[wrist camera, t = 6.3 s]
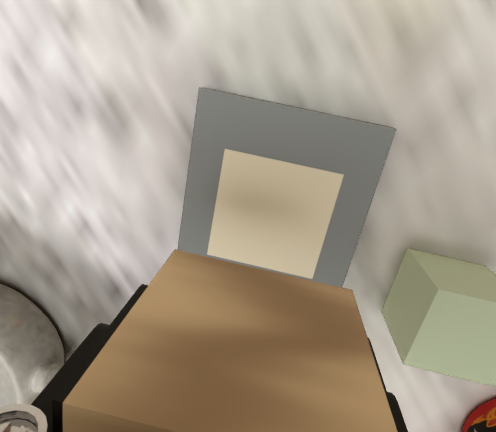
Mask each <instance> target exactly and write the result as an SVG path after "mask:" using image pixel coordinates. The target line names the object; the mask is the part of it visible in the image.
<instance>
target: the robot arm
mask: <svg viewBox="0 0 496 432" xmlns="http://www.w3.org/2000/svg"><path fill="white" fill-rule="evenodd" d="M147 287H148V285H144V284H142V285H141V286H140V287H139V288H138V289H137V291H136V292H135V293H134V295H133V296H132V297H131V298H130V300H129V301H128V302H127V304H126V305H125V306H124V308H123V309H122V310H121V311H120V313H119V314H118V315H117V317H116V318H115V319H114V320H113V322H112V323H111V324H110V325H107V324H103V323H100V324H98V325H97V326H96V327H95V328H94V329H93V330H92V331H91V332H90V334H89V335H88V336H87V337H86V339H85V340H84V341H83V342H82V343H81V345H80V346H79V347H78V348H77V349H76V351H75V352H74V353H73V354H72V355H71V357H70V358H69V359H68V360H67V361H66V363H65V364H64V365H63V366H62V367H61V369H60V370H59V371H58V372H57V374H56V375H55V376H54V377H53V378H52V380H51V381H50V382H49V383H48V384H47V386H46V387H45V388H44V389H43V390H42V392H41V393H40V394H39V395H38V396H37V398H36V399H35V400H34V401H33V402H32V404H31V405H28V404H13V405H6V406H4V407H1V408H0V432H63V402H64V400H65V399H66V398H67V396H68V395H69V394H70V392H71V391H72V389H73V388H74V387H75V385H76V384H77V383H78V381H79V380H80V379H81V377H82V376H83V374H84V373H85V372H86V370H87V369H88V368H89V366H90V365H91V363H92V362H93V361H94V359H95V358H96V357H97V355H98V354H99V353H100V351H101V350H102V348H103V347H104V346H105V344H106V343H107V342H108V340H109V339H110V337H111V336H112V335H113V333H114V332H115V331H116V329H117V328H118V327H119V325H120V324H121V322H122V321H123V320H124V318H125V317H126V316H127V314H128V313H129V311H130V310H131V309H132V307H133V306H134V305H135V303H136V302H137V301H138V299H139V298H140V296H141V295H142V294H143V292H144V291H145V290H146V288H147ZM367 338H368V337H367ZM368 341H369V344H370V347H371V351H372V354H373V357H374V360H375V363H376V366H377V369H378V372H379V376H380V379H381V382H382V385H383V388H384V391H385V394H386V397H387V401H388V404H389V407H390V410H391V413H392V416H393V419H394V422H395V425H396V429H397V432H408V430H407V428H406V425H405V422H404V419H403V416H402V413H401V410H400V408H399V405H398V402H397V400H396V398H395V396H394V395H393V394H392V393H390V392H387V391H386V388H385V385H384V382H383V379H382V376H381V373H380V369H379V366H378V363H377V360H376V357H375V354H374V351H373V348H372V345H371V342H370V339H369V338H368Z"/></svg>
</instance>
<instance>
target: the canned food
mask: <svg viewBox="0 0 496 432" xmlns="http://www.w3.org/2000/svg"><path fill="white" fill-rule="evenodd" d="M462 432H496V398H495V399H492V400H490V401H487V402H485V403H484V404H482V405H480V406H479V407H477V408H476V409H475V410H474V411H473V412H472V413H471V414H470V415H469V417H468V418H467V419H466V421H465V424H464V426H463V431H462Z"/></svg>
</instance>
